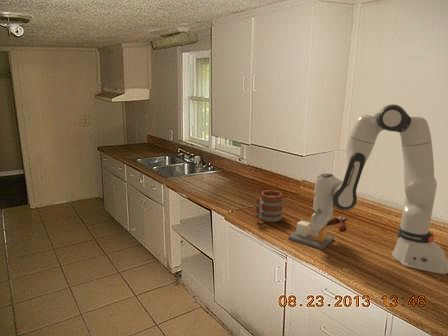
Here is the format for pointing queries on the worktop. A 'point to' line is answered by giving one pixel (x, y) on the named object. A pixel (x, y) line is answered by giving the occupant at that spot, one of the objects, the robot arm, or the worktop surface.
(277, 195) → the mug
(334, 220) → the pliers
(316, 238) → the orange matte cube
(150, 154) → the worktop surface
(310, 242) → the plate
